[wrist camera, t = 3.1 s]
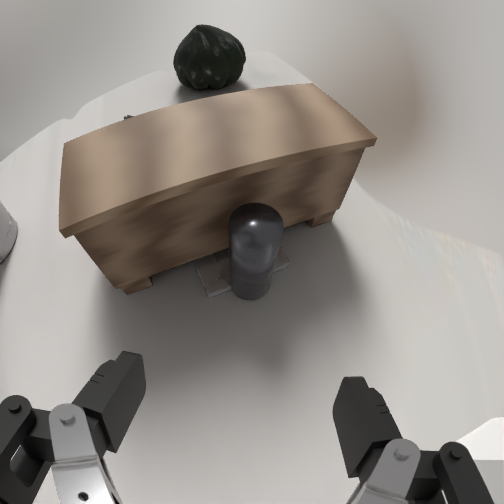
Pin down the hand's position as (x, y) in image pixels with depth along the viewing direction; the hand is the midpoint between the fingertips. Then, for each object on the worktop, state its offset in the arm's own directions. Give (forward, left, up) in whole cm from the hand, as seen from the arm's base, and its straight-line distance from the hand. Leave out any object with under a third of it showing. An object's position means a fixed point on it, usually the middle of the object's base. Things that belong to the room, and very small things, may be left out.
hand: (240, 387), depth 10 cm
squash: (+17, +55, -15) cm, 59 cm away
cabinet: (+6, +19, -15) cm, 25 cm away
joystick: (+6, +14, -15) cm, 22 cm away
